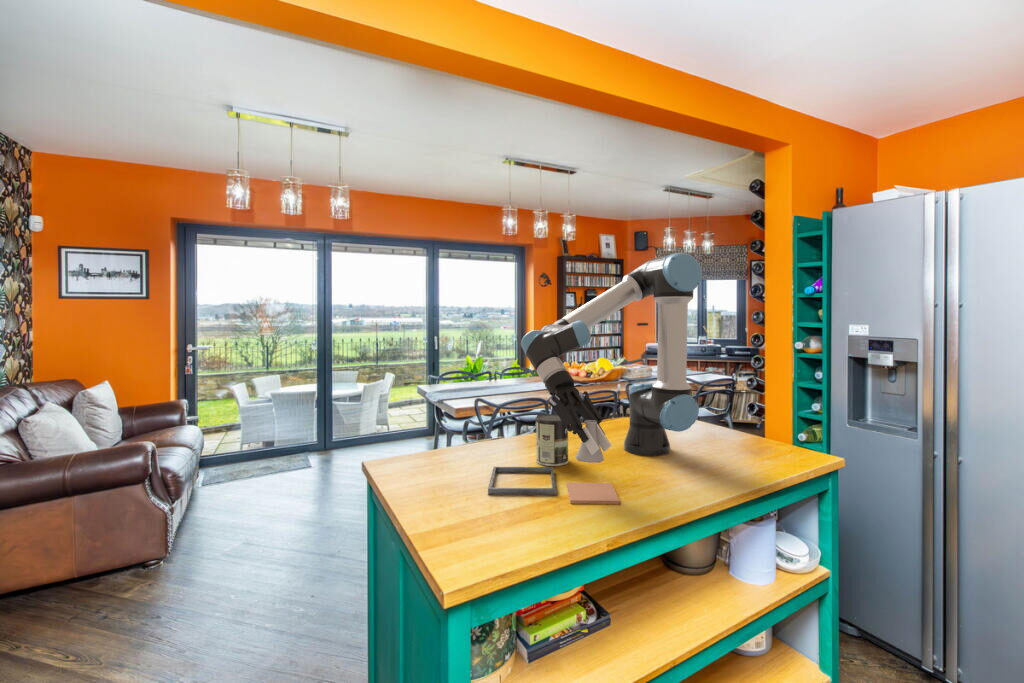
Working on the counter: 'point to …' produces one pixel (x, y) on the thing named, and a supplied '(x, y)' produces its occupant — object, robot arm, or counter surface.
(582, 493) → the terracotta tile
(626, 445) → the robot arm
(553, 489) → the steel frame
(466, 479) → the counter surface
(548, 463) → the coffee can
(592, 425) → the flask
